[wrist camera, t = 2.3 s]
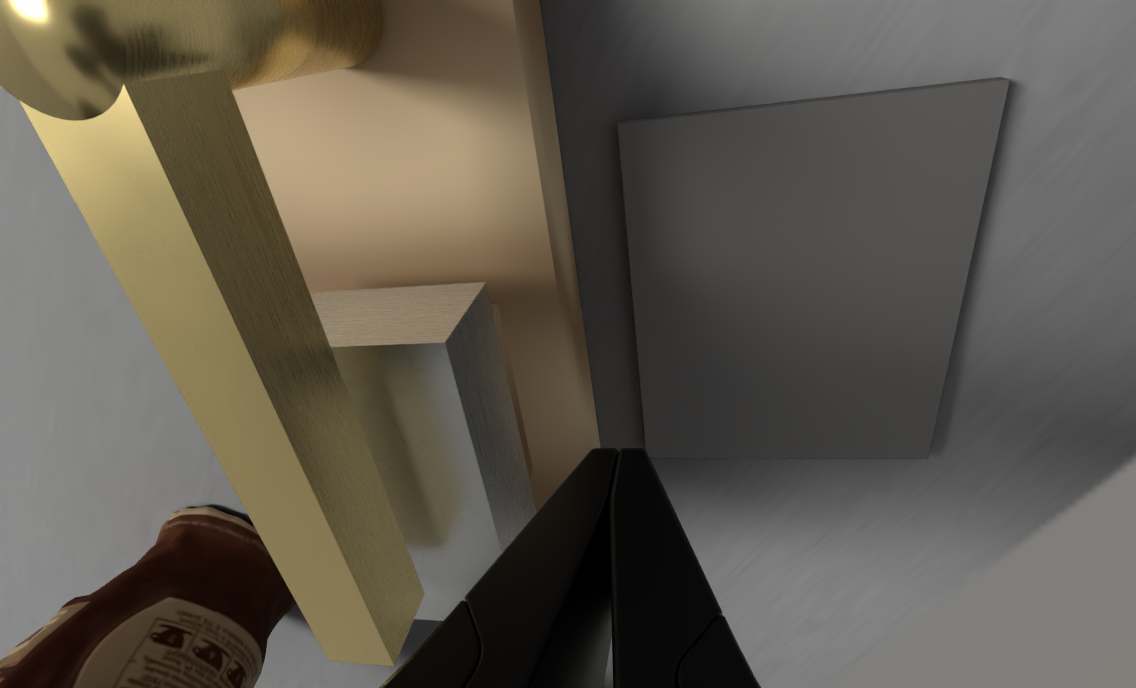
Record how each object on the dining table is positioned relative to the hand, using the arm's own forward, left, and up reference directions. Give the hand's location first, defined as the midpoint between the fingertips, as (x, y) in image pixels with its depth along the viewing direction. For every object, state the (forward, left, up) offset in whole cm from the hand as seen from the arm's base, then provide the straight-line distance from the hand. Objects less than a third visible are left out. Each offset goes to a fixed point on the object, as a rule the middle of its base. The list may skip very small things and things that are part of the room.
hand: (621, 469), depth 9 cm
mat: (-1, -4, -8) cm, 9 cm away
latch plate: (+1, +5, -8) cm, 9 cm away
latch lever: (+2, +5, -5) cm, 8 cm away
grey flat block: (-2, +5, -4) cm, 7 cm away
